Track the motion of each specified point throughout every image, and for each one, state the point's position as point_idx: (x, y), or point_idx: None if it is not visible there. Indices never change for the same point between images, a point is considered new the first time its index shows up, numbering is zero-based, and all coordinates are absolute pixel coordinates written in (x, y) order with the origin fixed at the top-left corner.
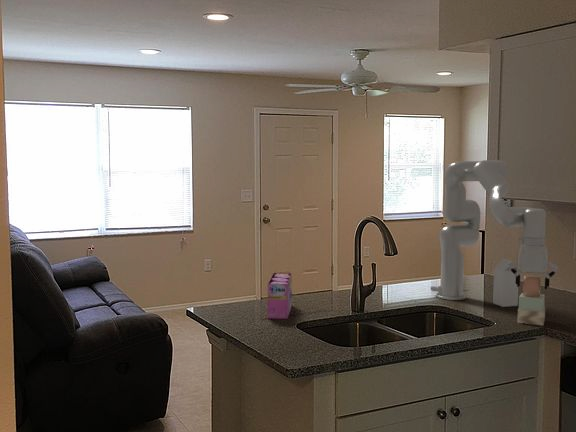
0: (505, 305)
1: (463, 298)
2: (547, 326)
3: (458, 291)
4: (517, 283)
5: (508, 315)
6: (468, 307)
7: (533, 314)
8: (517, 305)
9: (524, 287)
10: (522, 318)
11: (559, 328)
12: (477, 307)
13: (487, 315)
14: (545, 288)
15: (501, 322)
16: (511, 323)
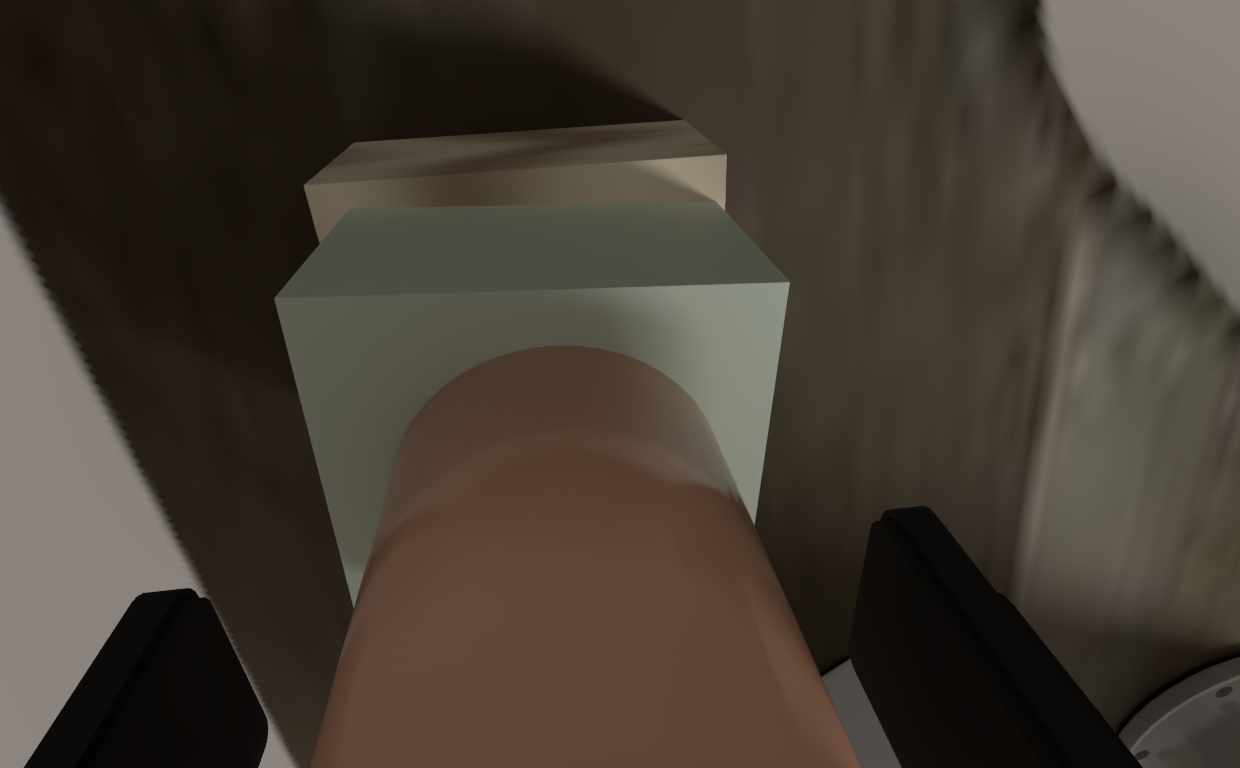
0: (834, 679)
1: (1148, 712)
2: (288, 114)
3: (1238, 756)
4: (967, 567)
5: (798, 418)
6: (1151, 518)
7: (475, 163)
8: None
9: (739, 511)
10: (629, 136)
11: (105, 76)
12: (1068, 554)
13: (1016, 310)
14: (170, 598)
15: (879, 30)
16: (752, 40)
